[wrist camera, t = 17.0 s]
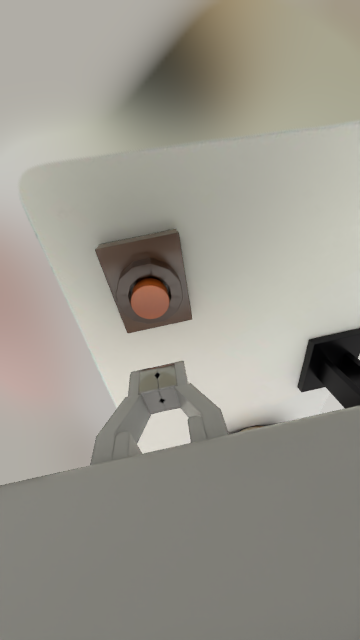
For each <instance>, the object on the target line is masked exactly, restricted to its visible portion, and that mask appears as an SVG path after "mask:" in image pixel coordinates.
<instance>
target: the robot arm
mask: <svg viewBox="0 0 360 640" xmlns="http://www.w3.org/2000/svg"><path fill="white" fill-rule="evenodd" d="M177 408H181V409H182V410H183V411H184V413H185V414H186V415H187V416H188V417H189V419H188V425H189V432H190V439H191V443H189V444H184V445H180V446H175V447H171V448H166V449H162V450H157V451H153V452H148V453H144V454H142V452H141V451H140V449H139V447H138V446H137V443H138V441H139V438H140V436H141V434H142V432H143V430H144V428H145V426H146V424H147V422H148V420H149V418H150V416H151V415H150V414H154V413H158V412H162V411H166V410H172V409H177ZM0 640H360V405H359V406H355V407H350V408H346V409H342V410H337V411H332V412H328V413H323V414H319V415H314V416H310V417H305V418H301V419H296V420H292V421H287V422H283V423H278V424H274V425H269V426H265V427H260V428H256V429H251V430H247V431H243V432H238V433H234V434H228V431H227V428H226V424H225V421H224V418H223V415H222V412H221V409H220V408H218V407H217V406H216V405H215V404H214V403H213V402H212V401H210V400H209V399H208V398H207V397H206V396H205V395H204V394H202V393H201V392H200V391H199V390H198V389H197V388H196V387H194V386H193V385H192V384H191V383H188V379H187V374H186V370H185V366H184V361H179V362H175V363H170V364H166V365H162V366H158V367H153V368H148V369H143V370H138V371H133V372H131V374H130V382H129V391H128V397H125V399H124V400H123V401H122V403H121V404H120V405H119V407H118V408H117V409H116V411H115V412H114V413H113V415H112V416H111V418H110V419H109V420H108V422H107V423H106V424H105V426H104V427H103V428H102V430H101V431H100V433H99V434H98V435H97V436H96V440H95V445H94V449H93V455H92V459H91V463H90V466H86V467H81V468H77V469H73V470H68V471H63V472H59V473H55V474H50V475H45V476H41V477H36V478H32V479H27V480H23V481H19V482H14V483H9V484H5V485H0Z"/></svg>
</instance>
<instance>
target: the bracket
mask: <svg viewBox="0 0 360 640" xmlns="http://www.w3.org/2000/svg"><path fill="white" fill-rule="evenodd" d="M359 354H360V328H359V329H355V330H350V331H346V332H341V333H337V334H332V335H328V336H324V337H319V338H315V339H310V340H309V343H308V347H307V351H306V355H305V359H304V363H303V368H302V372H301V376H300V380H299V384H298V388H299V390H300V391H301V392H305V391H309V390H314V389H318V388H322V387H326V388H327V389H328V390H329V391H330V392H331V394H332V395H333V396H334V397H335V398H336V399H337V400H338V401H339V402H340V403H341V404H342V406H343V407H344V408H345V409H346V408H350V407H355V406H359V405H360V360H359V359H358V356H359Z"/></svg>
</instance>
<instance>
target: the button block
mask: <svg viewBox="0 0 360 640" xmlns="http://www.w3.org/2000/svg"><path fill="white" fill-rule="evenodd" d="M95 251H96V254H97V257H98V259H99V262H100V264H101V267H102V269H103V272H104V274H105V277H106V280H107V282H108V285H109V287H110V290H111V292H112V295H113V297H114V300H115V302H116V305H117V308H118V310H119V313H120V315H121V318H122V320H123V323H124V325H125V328H126V330H127V333H132V332H136V331H141V330H146V329H150V328H155V327H159V326H164V325H168V324H173V323H178V322H182V321H187V320H191V319H192V314H191V307H190V301H189V295H188V289H187V282H186V276H185V270H184V264H183V257H182V251H181V245H180V239H179V233H178V231H177V230H176V229H172V230H167V231H162V232H157V233H153V234H148V235H143V236H138V237H133V238H128V239H124V240H119V241H114V242H109V243H104V244H100V245H99V246H98V247H97V248H96V249H95ZM147 278H153V279H157V280H159V281H160V282H162V283H163V284H164V285H165V287H166V288H167V291H168V296H169V307H168V310H167V311H166V312H165V313H164V314H163V315H162V316H160V317H158V318H155V319H146V318H142V317H140V316H139V315H137V314H136V313H135V312H134V310H133V309H132V306H131V296H132V290H133V288H134V286H135V285H136V284H137V283H138V282H139V281H141V280H143V279H147Z"/></svg>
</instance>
